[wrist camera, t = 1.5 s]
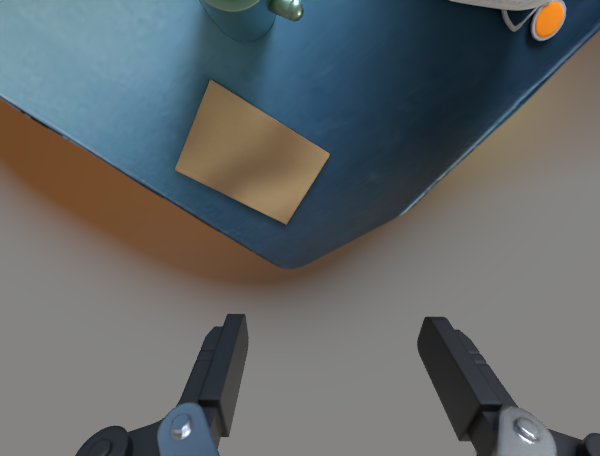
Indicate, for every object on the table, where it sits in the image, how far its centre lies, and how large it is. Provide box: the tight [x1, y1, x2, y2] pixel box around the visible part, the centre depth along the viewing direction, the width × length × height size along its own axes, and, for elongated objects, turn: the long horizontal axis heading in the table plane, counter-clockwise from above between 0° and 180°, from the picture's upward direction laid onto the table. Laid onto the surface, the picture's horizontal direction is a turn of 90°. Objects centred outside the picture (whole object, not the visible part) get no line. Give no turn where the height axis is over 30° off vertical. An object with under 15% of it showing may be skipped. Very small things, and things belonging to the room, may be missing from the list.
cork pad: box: [175, 79, 330, 225], centre depth 28 cm, size 14×10×1 cm
